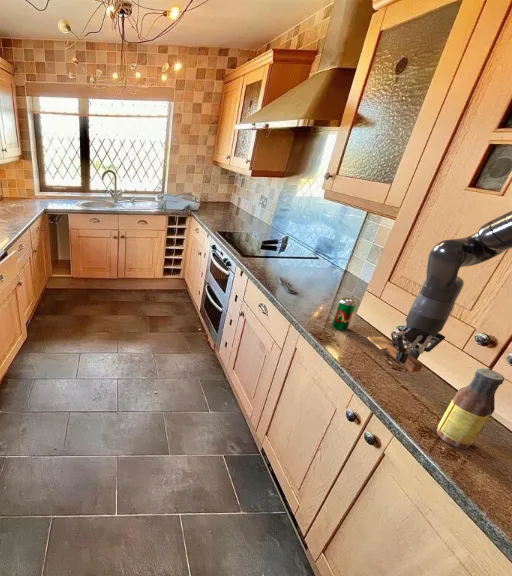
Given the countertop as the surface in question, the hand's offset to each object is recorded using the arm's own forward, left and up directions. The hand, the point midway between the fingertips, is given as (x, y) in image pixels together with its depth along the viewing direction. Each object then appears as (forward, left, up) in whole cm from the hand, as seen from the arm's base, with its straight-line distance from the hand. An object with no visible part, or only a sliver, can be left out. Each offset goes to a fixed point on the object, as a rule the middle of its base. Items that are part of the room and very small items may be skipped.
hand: (405, 361), depth 90 cm
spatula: (+2, -4, 0) cm, 4 cm away
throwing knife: (+30, -59, -7) cm, 67 cm away
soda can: (+11, -25, -7) cm, 29 cm away
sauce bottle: (-6, +20, -7) cm, 22 cm away
